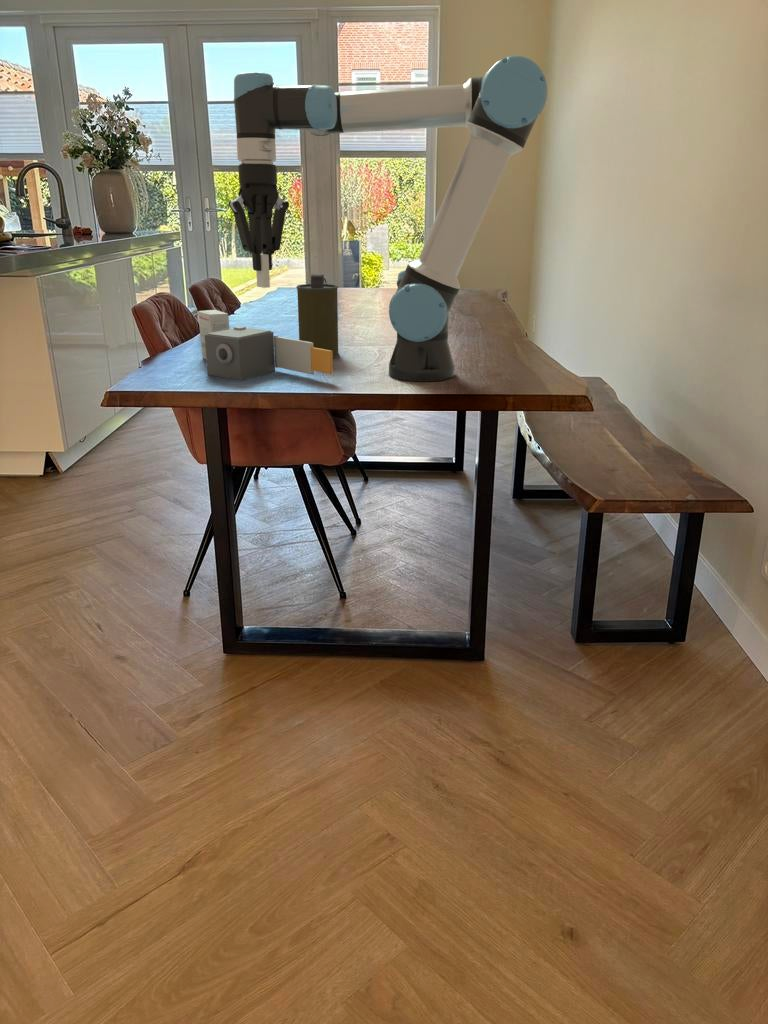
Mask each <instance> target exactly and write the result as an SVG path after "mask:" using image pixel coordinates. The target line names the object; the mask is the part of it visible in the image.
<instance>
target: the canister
mask: <svg viewBox="0 0 768 1024" xmlns="http://www.w3.org/2000/svg"><path fill="white" fill-rule="evenodd" d="M338 289H339V286H338V285H337V284H331V283H328V282H327V280H326V278H325V277H324V274H311V276H310V283H306V284H299V285H296V290H297V319H298V340H301V341H306V342H312V343H313V347H315V348H320V349H326V350H331V351H333V359H337V358H338V357H339V356H340V353H339V322H338V321H339V320H338V319H339V318H338V317H339V316H338V315H339V314H338V313H339V311H338V307H339V306H338V304H339V303H338Z"/></svg>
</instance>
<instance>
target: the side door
mask: <svg viewBox="0 0 768 1024" xmlns="http://www.w3.org/2000/svg"><path fill="white" fill-rule="evenodd" d="M274 356H275V369H277V368H279V369H284V370H289V371H292V372H293V371H294V372H298V373H302V374H307V375H311V376H312V375H315V372H319V373H323V374H328V375H333V374H334V366H333V365H334V358H333V351H331V350H326V349H320V348H315V347H313V343H312V342H306V341H301V340H299V339H294V338H289V337H282V336H279V335H274Z"/></svg>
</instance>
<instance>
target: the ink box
mask: <svg viewBox="0 0 768 1024" xmlns="http://www.w3.org/2000/svg"><path fill="white" fill-rule="evenodd" d="M197 315H198V324H199V326H198V327H199V335H200V344H201V345H200V346H201V354H202V359H203V358H204V359H203V360H205V359H206V347H205V335H207V333H213V332H218V331H223V330H228V329H230V321H229V313H227V312H224V311H221V310H218V309H207V310H198V311H197ZM206 361H207V359H206Z"/></svg>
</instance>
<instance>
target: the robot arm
mask: <svg viewBox="0 0 768 1024" xmlns="http://www.w3.org/2000/svg"><path fill="white" fill-rule="evenodd" d="M233 93H234V94H233V103H234V104H233V105H234V116H235V118H234V119H235V131H236V132H235V133H236V150H237V154H236V155H237V160H238V161H239V162H240V163H239V164H238V166H237V167H238V182H239V185H240V188H239V191H238V196H237V197H236V198H235V199H233V200H229V201H228V204H227V205H228V207H229V208H230V210H231V212H232V214H233V216H234V220H235V224H236V227H237V232H238V235H239V238H240V244H241V247H242V250H243V251H244V252H245V251H246V252H248V253H249V254H250V255H251V258H252V259H251V260H252V269H253V271H255V272H256V287H257V288H263V289H267V288H271V279H270V271H272V269H273V260H272V259H273V254H275V252H276V251H279V250H280V249H281V243H282V238H283V231H284V225H285V217H286V213H287V210H288V208H289V207H290V202H289V201H288V200H284V199H283V198H281V197H280V196H279V195H280V194H279V191H278V188H277V184H278V170H277V169H278V168H277V166H276V164H274V162H276V161H277V153H276V152H277V149H276V130H278V131H279V130H283V131H284V130H291V131H292V130H293V131H295V130H297V131H301V130H302V131H305V132H308V133H310V134H311V135H313V136H315V137H317V136H318V137H327V136H329V135H335V134H337V135H338V134H345V133H346V134H347V133H349V134H351V133H364V132H365V133H369V132H382V131H386V132H387V131H403V130H420V129H424V130H425V129H437V128H439V129H440V128H442V129H443V128H457V127H458V128H460V127H465V128H466V129H467V131H468V133H469V138H468V141H467V143H466V146H465V148H464V149H463V150H464V151H463V153H462V155H461V156H460V157H461V158H460V160H459V162H458V164H457V167H456V168H455V171H454V174H453V175H452V176H453V177H452V178H451V181H450V182H449V186H448V188H447V190H446V193H445V195H444V198H443V199H442V203H441V205H440V207H439V209H438V211H437V214H436V217H435V218H434V220H433V224H432V225H431V228H430V230H429V232H428V235H427V237H426V240H425V242H424V244H423V246H422V249H421V251H420V254H419V257H418V258H417V259H415V260H412V261H410V262H408V264H407V266H406V268H405V270H402V271H400V272H399V273H398V276H397V281H396V286H397V289H396V291H395V293H394V294H393V295H392V297H391V299H390V301H389V306H388V315H389V321H390V323H391V326H392V328H393V329H394V331H395V332H396V342H395V345H394V348H393V351H392V354H391V357H390V361H389V364H388V375H389V376H390V378H391V377H392V378H394V379H397V380H402V381H409V382H410V381H411V382H412V381H413V382H436V381H437V382H439V381H444V380H448V379H451V378H453V377H454V376H455V364H454V359H453V356H452V353H451V349H450V345H449V323H450V322H449V321H450V319H449V317H450V311H451V309H452V307H453V304H454V303H455V300H456V297H457V295H458V293H459V291H460V289H461V285H460V282H459V279H458V275H459V273H460V270H461V268H462V266H463V264H464V262H465V261H466V260H465V259H466V257H467V255H468V253H469V251H470V248H471V246H472V244H473V242H474V240H475V237H476V236H477V233H478V230H479V228H480V226H481V224H482V222H483V219H484V217H485V215H486V213H487V210H488V208H489V206H490V204H491V201H492V199H493V197H494V195H495V193H496V190H497V188H498V186H499V184H500V181H501V179H502V177H503V174H504V172H505V171H506V168H507V166H508V164H509V162H510V159H511V157H512V156H513V155H515V154H518V153H520V152H522V151H523V149H524V148H525V145H526V143H527V141H528V139H529V136H530V134H531V132H532V130H533V128H534V126H535V123H536V121H537V119H538V117H539V115H541V113H542V111H543V109H544V107H545V106H546V105H545V104H546V102H547V100H548V99H547V97H548V83H547V79H546V77H545V74H544V72H543V70H542V69H541V67H540V66H539V65H538V64H537V63H536V62H535V61H534V60H533V59H531V58H528V57H526V56H523V55H509V56H506V57H504V58H502V59H499V60H498V61H496V62H495V63H494V64H493V65H492V66H491V67H490V68H489V70H487V71H486V73H485V74H484V76H479V77H469V78H468V80H467V81H466V82H465V83H463V84H462V83H461V84H449V85H446V84H445V85H431V86H430V85H429V86H417V87H404V88H402V87H401V88H387V89H386V88H385V89H383V88H382V89H373V90H372V89H369V90H356V91H354V90H353V91H341V92H340V91H339V92H336V91H335V89H334V88H333V86H331V85H322V84H321V85H320V84H316V83H315V84H312V85H309V84H308V85H307V84H306V85H305V84H304V85H303V84H302V85H277V84H275V83H274V79H273V76H272V75H271V74H269V73H266V72H255V71H254V72H253V71H249V72H248V71H246V72H245V71H244V72H239V73H238V74H236V75H235V77H234V79H233ZM244 207H245V209H246V210H247V213H246V212H245V210H244ZM273 209H274V213H273ZM246 214H247V215H246ZM247 218H248V220H247Z"/></svg>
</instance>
